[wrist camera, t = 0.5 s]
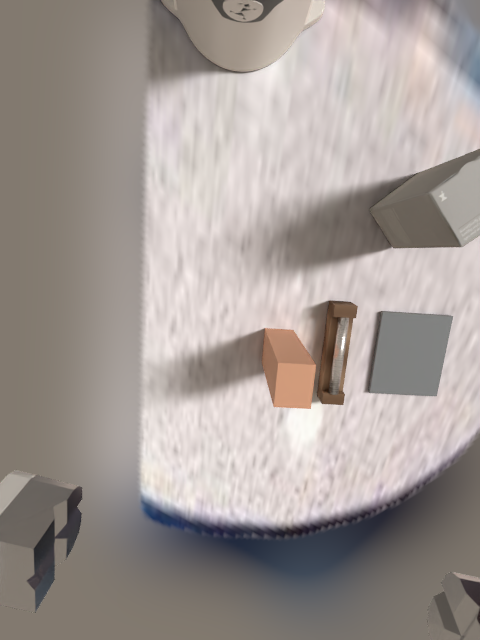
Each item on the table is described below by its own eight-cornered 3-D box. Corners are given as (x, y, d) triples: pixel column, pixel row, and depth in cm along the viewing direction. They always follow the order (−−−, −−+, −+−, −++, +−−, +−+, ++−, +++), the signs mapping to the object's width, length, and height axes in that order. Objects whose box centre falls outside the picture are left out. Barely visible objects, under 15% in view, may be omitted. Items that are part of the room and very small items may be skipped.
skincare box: (391, 248, 52) (461, 258, 37) (363, 203, 50) (424, 194, 35) (446, 211, 51) (541, 204, 36) (419, 163, 50) (507, 135, 34)
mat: (381, 311, 54) (382, 312, 53) (450, 315, 54) (452, 316, 54) (368, 390, 57) (369, 392, 56) (434, 394, 57) (436, 396, 57)
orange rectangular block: (264, 328, 54) (278, 362, 40) (293, 330, 54) (316, 364, 41) (261, 362, 55) (273, 406, 41) (289, 363, 55) (310, 408, 42)
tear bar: (329, 300, 53) (335, 305, 50) (350, 301, 53) (358, 306, 50) (316, 394, 57) (322, 405, 53) (337, 395, 57) (344, 406, 53)
